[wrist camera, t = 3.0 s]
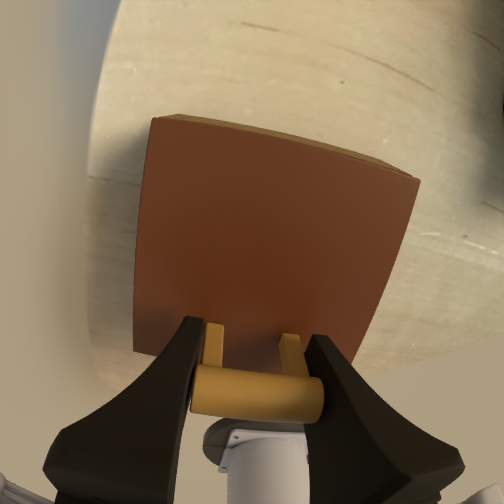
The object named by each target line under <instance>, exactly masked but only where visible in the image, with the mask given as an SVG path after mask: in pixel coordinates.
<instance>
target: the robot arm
mask: <svg viewBox="0 0 504 504" xmlns="http://www.w3.org/2000/svg"><path fill="white" fill-rule="evenodd" d="M203 322H204V318H199V317H194V316H188V315H187V316H185V317H184V318H183V320H182V322H181V324H180V326H179V328H178V329H177V331H176V333H175V334H174V336H173V337H172V339H171V340H170V341H169V343H168V344H167V345H166V347H165V348H164V349H163V351H162V352H161V353H160V354H159V355H158V357H157V358H156V359H155V360H154V361H153V362H152V363H151V365H150V366H149V367H148V368H147V369H146V370H145V371H144V372H143V373H142V374H141V375H140V376H139V377H138V378H137V379H136V380H135V381H134V382H133V383H131V384H130V385H129V386H128V387H127V388H126V389H124V390H123V391H122V392H121V393H120V394H118V395H117V396H116V397H115V398H113V399H112V400H111V401H109V402H108V403H106V404H105V405H103V406H102V407H101V408H99V409H97V410H96V411H94V412H93V413H91V414H90V415H88V416H86V417H85V418H83V419H81V420H79V421H77V422H75V423H73V424H71V425H69V426H68V427H66V428H63V429H62V430H61V431H60V432H59V434H58V435H57V437H56V438H55V440H54V442H53V444H52V445H51V447H50V449H49V452H48V454H47V457H46V460H45V463H44V466H43V472H44V473H45V475H46V477H47V478H48V479H49V480H50V482H51V483H52V484H53V485H54V486H55V488H56V489H57V490H58V492H57V495H56V499H55V502H53V501H50V500H48V499H46V498H43V497H41V496H39V495H37V494H34V493H32V492H30V491H28V490H26V489H24V488H22V487H20V486H18V485H16V484H14V483H12V482H10V481H8V480H6V478H5V477H4V475H3V474H2V473H0V504H173V501H174V492H175V483H176V474H177V466H178V458H179V449H180V442H181V436H182V431H183V427H184V422H185V418H186V414H187V410H188V406H189V402H190V398H191V394H192V388H193V380H194V373H195V367H196V364H197V362H198V355H199V348H200V342H201V335H202V328H203ZM304 356H305V360H306V364H307V367H308V371H309V375H310V377H317V378H319V379H320V380H321V381H322V383H323V386H324V406H323V410H322V414H321V416H320V418H319V420H318V421H317V422H315V423H312V424H311V423H303V424H304V429H305V433H302V432H275V431H259V430H247V429H233V430H231V432H230V435H229V438H228V441H227V444H226V447H225V450H224V453H223V456H222V459H221V462H220V464H219V467H218V471H219V472H220V473H228V479H227V480H228V481H227V483H228V484H227V504H438V503H437V502H438V501H440V500H441V495H440V491H441V490H442V489H444V488H445V487H446V486H448V485H449V484H450V483H452V482H453V481H454V480H456V479H457V478H458V477H459V476H460V475H461V474H462V473H463V471H464V469H465V465H464V463H463V460H462V458H461V456H460V453H459V451H458V449H457V448H455V447H453V446H451V445H449V444H447V443H445V442H443V441H441V440H439V439H437V438H435V437H433V436H431V435H430V434H428V433H426V432H425V431H423V430H421V429H420V428H418V427H417V426H415V425H414V424H412V423H411V422H410V421H408V420H407V419H406V418H404V417H403V416H402V415H400V414H399V413H398V412H396V411H395V410H394V409H393V408H392V407H391V406H390V405H388V404H387V403H386V402H385V401H384V400H383V399H382V398H381V397H380V396H379V395H378V394H377V393H376V392H375V391H374V390H373V389H372V388H371V387H370V386H369V385H368V384H367V383H366V382H365V381H364V379H363V378H362V377H361V376H360V375H359V374H358V372H357V371H356V370H355V369H354V368H353V366H352V365H351V364H350V363H349V362H348V360H347V359H346V358H345V357H344V355H343V354H342V353H341V352H340V350H339V349H338V348H337V346H336V345H335V344H334V343H333V341H332V340H331V339H330V338H329V337H328V336H327V335H320V334H312V336H311V338H310V341H309V343H308V345H307V348H306V350H305V352H304ZM307 455H308V459H309V472H308V464H307V457H306V456H307ZM458 504H504V498H503V495H502V493H501V491H500V488H499V486H498V484H497V483H495V484H493V485H490V486H488V487H486V488H484V489H482V490H480V491H478V492H476V493H475V494H473V495H472V496H470V497H469V498H468V499H467V500H465V501H463V502H461V503H458Z"/></svg>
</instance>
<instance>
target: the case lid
mask: <svg viewBox="0 0 504 504" xmlns="http://www.w3.org/2000/svg"><path fill="white" fill-rule="evenodd" d="M420 182H421V180H420V179H418V178H415V177H412V176H409V175H406V174H403V173H400V172H397V171H395V170H391V169H388V168H385V167H382V166H379V165H376V164H373V163H370V162H366V161H363V160H360V159H356V158H353V157H349V156H346V155H342V154H339V153H335V152H332V151H328V150H324V149H320V148H317V147H313V146H309V145H305V144H301V143H296V142H292V141H288V140H284V139H279V138H275V137H270V136H265V135H261V134H256V133H251V132H246V131H241V130H235V129H230V128H224V127H218V126H212V125H206V124H200V123H193V122H186V121H179V120H172V119H164V118H155V117H154V118H152V121H151V127H150V132H149V138H148V145H147V151H146V158H145V165H144V172H143V180H142V188H141V197H140V206H139V216H138V227H137V239H136V253H135V270H134V294H133V351H134V352H138V353H143V354H147V355H152V356H157V357H158V355H159V354H160V353H161V352H162V351H163V349H164V348H165V347H166V345H167V344H168V343H169V341H170V340H171V339H172V337H173V336H174V334H175V333H176V331H177V329H178V328H179V326H180V324H181V322H182V320H183V318H184V317H185V316H187V315H188V316H194V317H199V318H204V322H203V328H202V335H201V342H200V348H199V355H198V362H197V364H196V367H195V373H194V380H193V388H192V395H191V403H190V412H191V413H196V414H203V415H209V416H217V417H225V418H234V419H243V420H254V421H267V422H283V423H311V424H312V423H315V422H317V421H318V420H319V418H320V416H321V414H322V410H323V406H324V386H323V383H322V381H321V380H320V379H319V378H317V377H310V375H309V371H308V367H307V364H306V360H305V356H304V352H305V350H306V348H307V345H308V343H309V341H310V338H311V336H312V334H320V335H327V336H328V337H329V338H330V339H331V340H332V341H333V343H334V344H335V345H336V346H337V348H338V349H339V350H340V352H341V353H342V354H343V355H344V357H345V358H346V359H347V360H348V362H349V363H350V364H352V361H353V359H354V357H355V355H356V353H357V351H358V349H359V347H360V345H361V343H362V340H363V338H364V336H365V334H366V332H367V329H368V327H369V325H370V323H371V320H372V318H373V316H374V313H375V311H376V309H377V306H378V304H379V302H380V299H381V297H382V294H383V292H384V289H385V287H386V284H387V282H388V279H389V276H390V274H391V271H392V268H393V266H394V263H395V260H396V258H397V255H398V252H399V249H400V246H401V243H402V240H403V238H404V235H405V232H406V228H407V225H408V222H409V219H410V216H411V213H412V209H413V206H414V203H415V199H416V196H417V193H418V189H419V185H420Z"/></svg>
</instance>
